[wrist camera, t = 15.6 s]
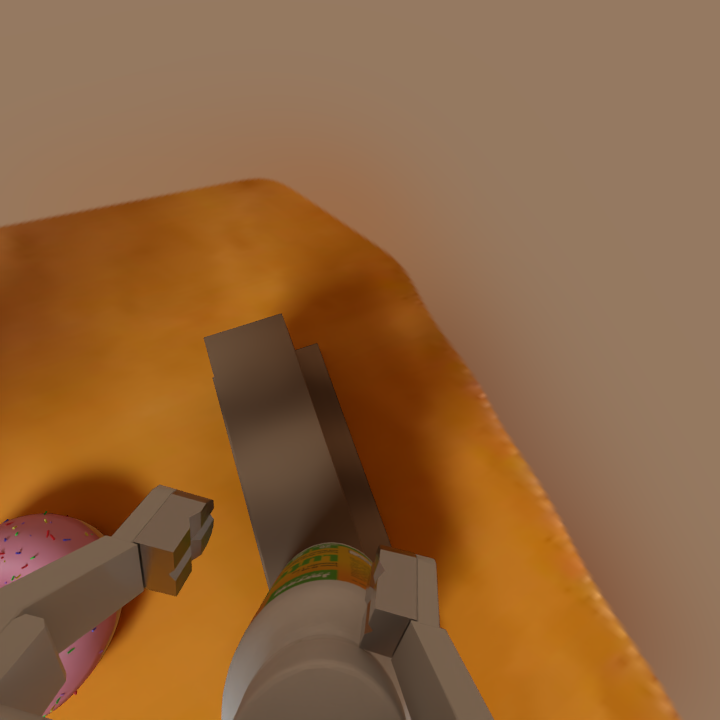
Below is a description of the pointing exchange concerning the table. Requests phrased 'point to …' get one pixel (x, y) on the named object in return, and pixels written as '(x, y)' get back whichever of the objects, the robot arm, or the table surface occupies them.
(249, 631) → the supplement bottle
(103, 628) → the doughnut
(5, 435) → the table surface
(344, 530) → the beam
